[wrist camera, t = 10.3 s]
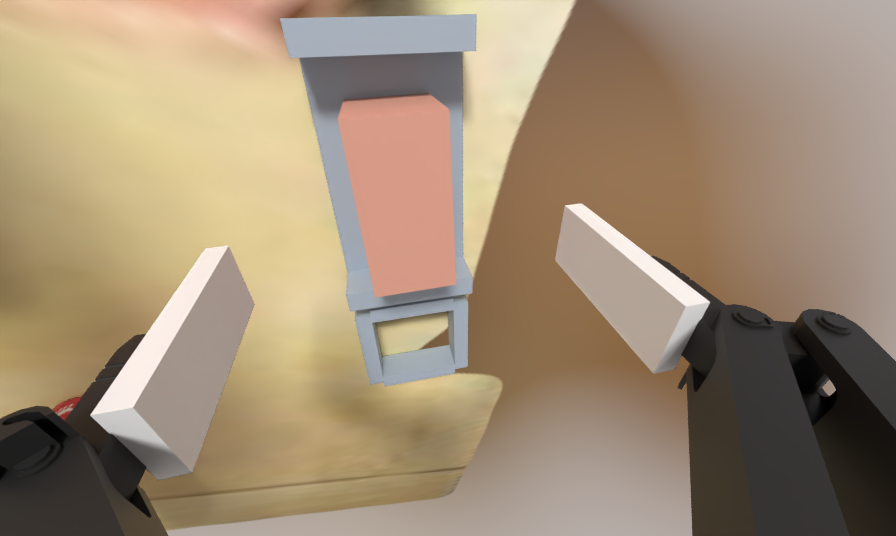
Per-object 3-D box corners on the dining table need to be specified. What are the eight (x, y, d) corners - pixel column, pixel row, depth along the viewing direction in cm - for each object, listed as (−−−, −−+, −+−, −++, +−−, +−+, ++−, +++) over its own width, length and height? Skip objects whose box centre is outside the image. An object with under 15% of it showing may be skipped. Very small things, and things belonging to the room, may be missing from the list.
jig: (292, 21, 18) (279, 18, 15) (459, 18, 20) (476, 14, 17) (370, 367, 33) (371, 398, 30) (461, 351, 35) (470, 379, 32)
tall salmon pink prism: (343, 99, 20) (337, 119, 15) (428, 93, 21) (449, 109, 16) (372, 248, 26) (374, 297, 21) (438, 238, 26) (456, 284, 21)
